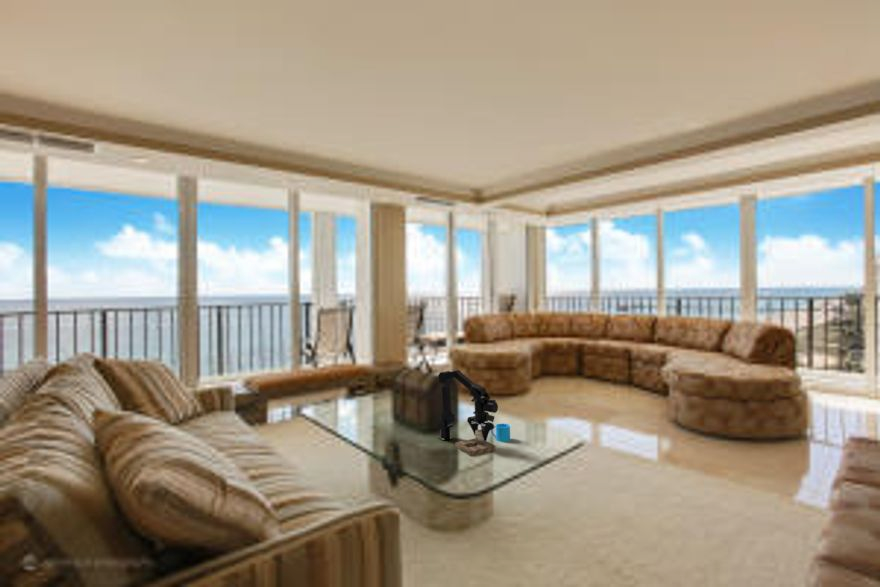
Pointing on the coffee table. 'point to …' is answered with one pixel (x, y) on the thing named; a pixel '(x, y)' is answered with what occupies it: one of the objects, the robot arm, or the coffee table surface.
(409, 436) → the coffee table surface
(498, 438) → the mug
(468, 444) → the keyhole board
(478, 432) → the peg
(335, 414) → the coffee table surface
